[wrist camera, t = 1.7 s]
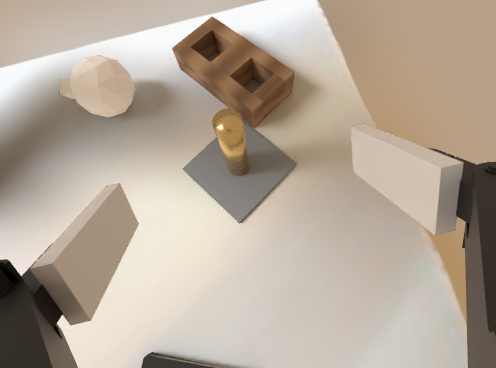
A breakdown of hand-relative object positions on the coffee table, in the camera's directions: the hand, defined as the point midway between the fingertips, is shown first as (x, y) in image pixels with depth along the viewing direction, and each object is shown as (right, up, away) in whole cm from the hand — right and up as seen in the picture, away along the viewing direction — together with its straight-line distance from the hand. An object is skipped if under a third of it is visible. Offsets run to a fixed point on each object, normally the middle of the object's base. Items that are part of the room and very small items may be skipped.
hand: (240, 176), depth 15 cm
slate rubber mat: (-1, +2, +25) cm, 25 cm away
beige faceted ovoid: (-23, +14, +31) cm, 41 cm away
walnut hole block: (-2, +17, +31) cm, 35 cm away
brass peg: (-1, +2, +25) cm, 25 cm away
